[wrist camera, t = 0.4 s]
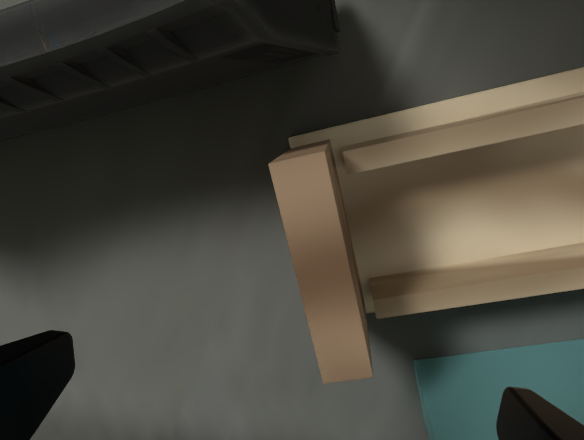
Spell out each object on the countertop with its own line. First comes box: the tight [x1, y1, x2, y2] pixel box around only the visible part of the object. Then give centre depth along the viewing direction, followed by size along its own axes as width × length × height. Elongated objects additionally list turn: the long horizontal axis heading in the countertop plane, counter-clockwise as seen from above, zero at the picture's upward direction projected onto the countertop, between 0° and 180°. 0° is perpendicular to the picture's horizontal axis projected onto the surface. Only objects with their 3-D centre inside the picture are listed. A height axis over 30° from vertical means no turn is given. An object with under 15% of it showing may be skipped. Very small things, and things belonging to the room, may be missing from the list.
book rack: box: [268, 67, 584, 384], centre depth 16 cm, size 10×20×7 cm, turn 103°
